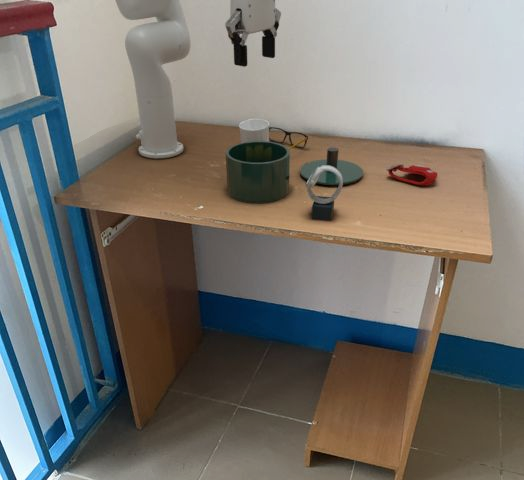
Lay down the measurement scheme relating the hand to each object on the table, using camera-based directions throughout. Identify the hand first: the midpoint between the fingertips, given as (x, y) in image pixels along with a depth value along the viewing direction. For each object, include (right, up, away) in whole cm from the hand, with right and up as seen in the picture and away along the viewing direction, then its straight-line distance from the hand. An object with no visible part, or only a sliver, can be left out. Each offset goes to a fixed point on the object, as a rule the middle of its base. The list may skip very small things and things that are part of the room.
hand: (255, 61), depth 122 cm
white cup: (0, -12, +30) cm, 32 cm away
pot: (+1, -24, +16) cm, 28 cm away
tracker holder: (+40, -20, +21) cm, 49 cm away
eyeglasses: (+5, -7, +37) cm, 38 cm away
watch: (+15, -32, +5) cm, 36 cm away
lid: (+19, -17, +23) cm, 34 cm away
